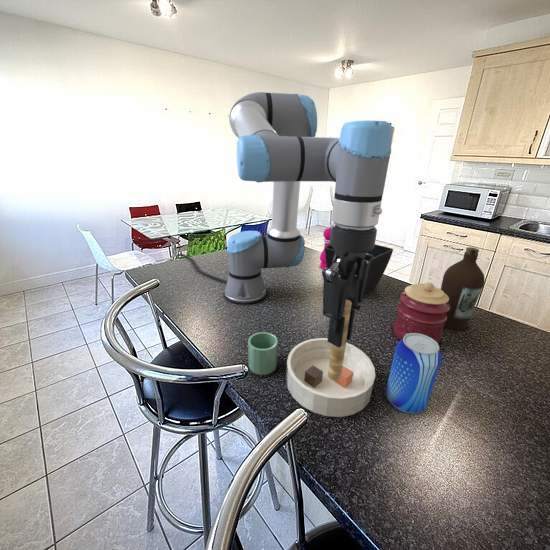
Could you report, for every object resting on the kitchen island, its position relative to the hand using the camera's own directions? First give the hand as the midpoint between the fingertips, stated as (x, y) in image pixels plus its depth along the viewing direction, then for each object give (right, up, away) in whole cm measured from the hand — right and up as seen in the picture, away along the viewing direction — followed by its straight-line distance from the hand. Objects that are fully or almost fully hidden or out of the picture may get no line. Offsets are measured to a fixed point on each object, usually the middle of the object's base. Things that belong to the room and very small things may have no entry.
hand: (339, 339), depth 58 cm
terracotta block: (+3, -12, +10) cm, 16 cm away
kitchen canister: (+29, -5, +29) cm, 42 cm away
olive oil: (+44, -2, +36) cm, 57 cm away
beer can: (+16, -15, +6) cm, 23 cm away
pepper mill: (+11, +17, +77) cm, 80 cm away
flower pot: (+18, +8, +58) cm, 61 cm away
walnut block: (-4, -12, +10) cm, 16 cm away
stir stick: (0, -9, +4) cm, 9 cm away
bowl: (0, -13, +10) cm, 17 cm away
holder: (-16, -10, +15) cm, 24 cm away
